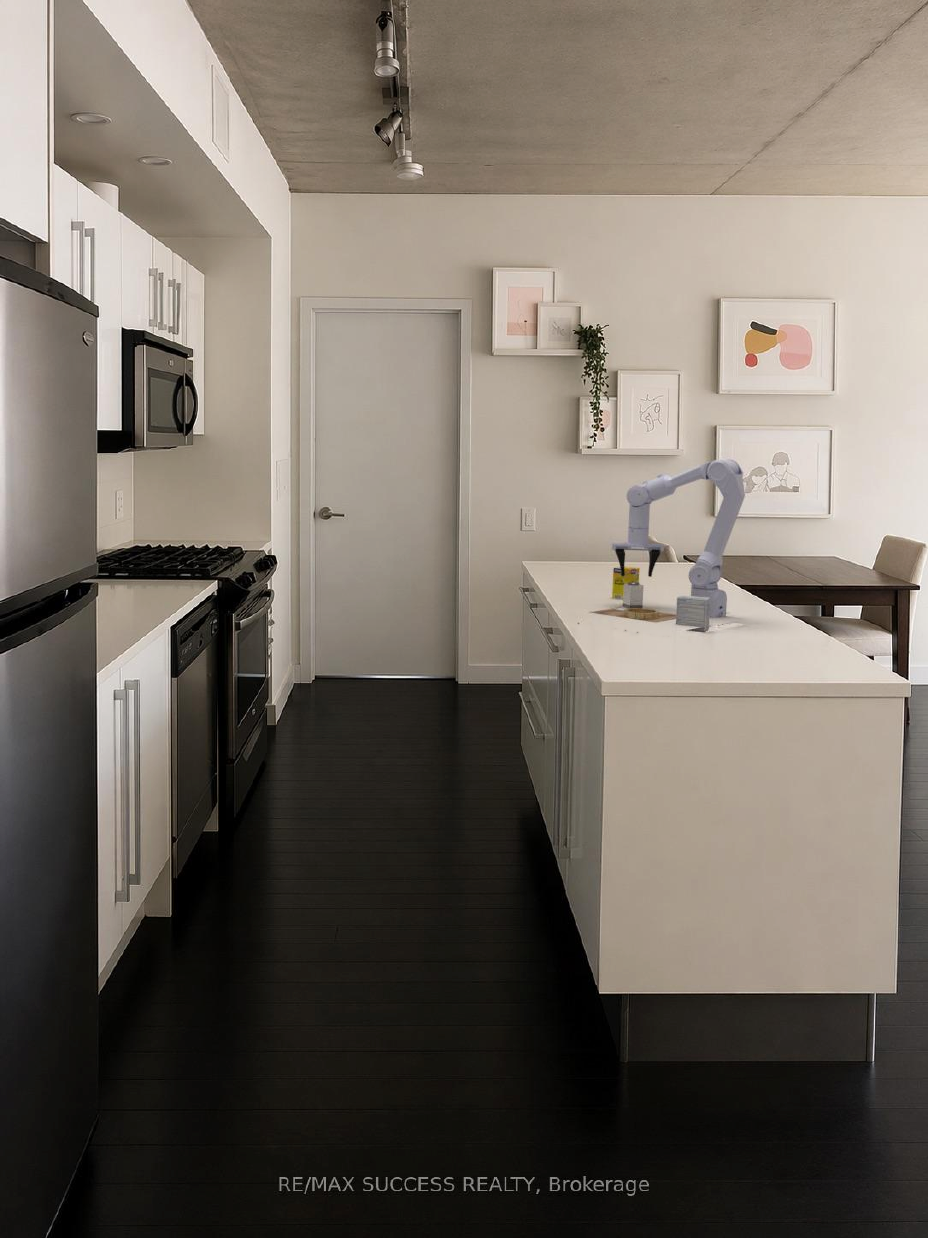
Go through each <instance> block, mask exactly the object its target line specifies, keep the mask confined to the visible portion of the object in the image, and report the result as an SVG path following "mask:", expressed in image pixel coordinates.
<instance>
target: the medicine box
mask: <svg viewBox="0 0 928 1238" xmlns="http://www.w3.org/2000/svg"><path fill="white" fill-rule="evenodd" d="M675 611H676V613H675V615H676V619H675V625H679V626H680V625H681V626H690V627H696V628H692V629H686V630H685V631H687V632H700V633H701V632H702V633H706V632H708V630H709V629H710V626H709V625H710V617H709V614H710V598H707V597H696V596H691V595H680V596H678V597H676V610H675Z"/></svg>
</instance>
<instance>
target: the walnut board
mask: <svg viewBox="0 0 928 1238" xmlns="http://www.w3.org/2000/svg"><path fill="white" fill-rule="evenodd" d="M618 608H623V606H621V607H614V608H608V609H601V610H594V611H589V613H591V614H597V615H603V616H604V615H605V616H611V617H616V618H617V617H618V618H622V619H623V618H624V619H630V620H633V619H632V618H627V617H624V612H622V611H615V610H614V609H618ZM635 620H637V621H642V622H643V621H645V622H648V623H649V622H650V623H660V622H666V621H671V620H676V613H675V614H674V613H667V612H660V611H659V618H658V619H635Z"/></svg>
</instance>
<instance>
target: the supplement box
mask: <svg viewBox="0 0 928 1238" xmlns="http://www.w3.org/2000/svg"><path fill="white" fill-rule="evenodd" d="M624 569H625V574H624V576H622V575H621V568H620V566H619V567H618V566H617V567H613V571H612V573H613V574H612V591H611V599H612V600H618V601H619V600H620V601H623V589H624V584H628V582H638V583H639V584H640V571H641V570H640V569H641V568H640V567H633V566H625V565H624Z"/></svg>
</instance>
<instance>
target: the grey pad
mask: <svg viewBox="0 0 928 1238" xmlns="http://www.w3.org/2000/svg"><path fill="white" fill-rule="evenodd" d="M617 608H618V609H614V610H615V611H622V612H624V610H625V609H623V608H620V607H617Z"/></svg>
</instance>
